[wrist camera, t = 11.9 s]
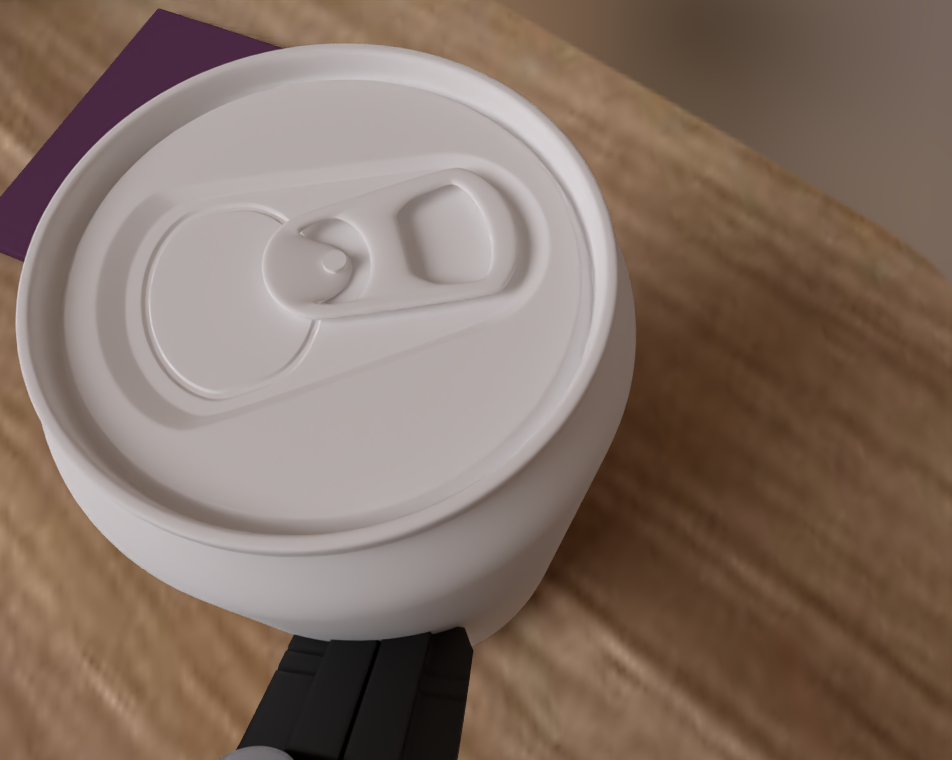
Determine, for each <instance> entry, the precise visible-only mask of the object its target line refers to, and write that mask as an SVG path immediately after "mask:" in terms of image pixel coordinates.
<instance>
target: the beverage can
mask: <svg viewBox="0 0 952 760" xmlns="http://www.w3.org/2000/svg"><path fill="white" fill-rule="evenodd" d="M16 338H17V348H18V355H19V361H20V365H21V370H22V374H23V378H24V381H25V384H26V388H27V391H28V393H29V396H30V399H31V401H32V404H33V406H34V408H35V410H36V413H37V415H38V416H39V418H40V420H41V422H42V426H43V430H44V433H45V436H46V440H47V443H48V446H49V448H50V451H51V454H52V456H53V458H54V461H55V463H56V465H57V468H58V470H59V472H60V474H61V476H62V478H63V480H64V482H65V484H66V485H67V487H68V489H69V490H70V492H71V494H72V495H73V497H74V498H75V500H76V501H77V503H78V504H79V506H80V507H81V508H82V510H83V511H84V512H85V514H86V515H87V516H88V517H89V519H90V520H91V521H92V523H93V524H94V525H95V526H96V527H97V528H98V529H99V530H100V532H101V533H102V534H103V535H104V536H105V537H106V538H107V539H108V540H109V541H110V542H111V543H112V544H113V545H114V546H115V547H117V548H118V549H119V550H120V551H121V552H122V553H123V554H125V555H126V556H127V557H128V558H129V559H131V560H132V561H133V562H135V563H136V564H137V565H138V566H140V567H141V568H143V569H144V570H146V571H147V572H149V573H150V574H151V575H153V576H155V577H156V578H158V579H160V580H161V581H163V582H165V583H167V584H168V585H170V586H172V587H174V588H176V589H178V590H180V591H182V592H184V593H187V594H189V595H191V596H193V597H195V598H198V599H200V600H203V601H205V602H208V603H211V604H213V605H216V606H218V607H221V608H224V609H226V610H229V611H232V612H234V613H237V614H240V615H242V616H245V617H248V618H250V619H253V620H256V621H258V622H261V623H264V624H266V625H269V626H272V627H274V628H277V629H280V630H282V631H285V632H288V633H290V634H293V635H294V634H295V635H299V636H303V637H307V638H312V639H317V640H324V641H330V640H331V639H333V640H360V641H362V640H379V641H380V642H382V639H391V638H399V637H405V636H411V635H416V634H421V633H425V632H429V631H431V633H432V634H436V633H439V632H443V631H446V630H449V629H452V628H455V627H457V626H459V627H465V630H466V632H467V635H468V638H469V641H470V643H471V646H472V647H473V646H475V645H477V644H479V643H480V642H482V641H484V640H485V639H487V638H489V637H490V636H492V635H493V634H494V633H496V632H497V631H498V630H500V629H501V628H502V627H503V626H505V625H506V624H507V623H508V622H509V621H510V620H511V619H512V618H513V617H514V616H515V615H516V614H517V613H518V612H519V611H520V610H521V609H522V608H523V606H524V605H525V604H526V603H527V601H528V600H529V599H530V597H531V596H532V595H533V593H534V592H535V590H536V589H537V587H538V585H539V584H540V582H541V580H542V578H543V577H544V575H545V573H546V571H547V569H548V567H549V565H550V563H551V561H552V559H553V557H554V555H555V553H556V551H557V549H558V547H559V546H560V544H561V542H562V540H563V538H564V536H565V534H566V532H567V530H568V528H569V526H570V524H571V522H572V520H573V518H574V516H575V514H576V512H577V510H578V508H579V506H580V504H581V503H582V501H583V499H584V497H585V495H586V493H587V491H588V489H589V487H590V485H591V483H592V481H593V479H594V477H595V475H596V473H597V471H598V469H599V467H600V465H601V463H602V461H603V459H604V458H605V456H606V454H607V451H608V449H609V447H610V445H611V443H612V441H613V439H614V436H615V434H616V432H617V429H618V427H619V424H620V422H621V419H622V416H623V413H624V410H625V407H626V403H627V400H628V396H629V392H630V387H631V383H632V377H633V371H634V362H635V351H636V318H635V307H634V299H633V293H632V287H631V283H630V278H629V274H628V271H627V267H626V264H625V260H624V257H623V254H622V251H621V249H620V246H619V244H618V241H617V239H616V237H615V233H614V228H613V224H612V220H611V217H610V213H609V210H608V207H607V204H606V201H605V199H604V196H603V194H602V192H601V189H600V187H599V185H598V183H597V181H596V179H595V177H594V175H593V173H592V171H591V170H590V168H589V166H588V165H587V163H586V161H585V160H584V158H583V157H582V155H581V154H580V152H579V151H578V150H577V148H576V147H575V146H574V144H573V143H572V142H571V141H570V139H569V138H568V137H567V136H566V135H565V134H564V132H563V131H562V130H561V129H560V128H559V127H558V126H557V125H556V124H555V123H554V122H553V121H552V120H551V119H550V118H549V117H548V116H547V115H546V114H544V113H543V112H542V111H541V110H540V109H539V108H537V107H536V106H535V105H534V104H532V103H531V102H530V101H529V100H527V99H526V98H524V97H523V96H522V95H520V94H519V93H517V92H516V91H514V90H513V89H511V88H509V87H508V86H506V85H504V84H503V83H501V82H499V81H497V80H495V79H494V78H492V77H490V76H488V75H486V74H484V73H482V72H479V71H477V70H475V69H473V68H470V67H468V66H465V65H463V64H460V63H457V62H455V61H452V60H449V59H446V58H442V57H439V56H436V55H432V54H428V53H424V52H420V51H415V50H410V49H405V48H399V47H392V46H384V45H373V44H353V43H336V44H317V45H307V46H298V47H291V48H285V49H279V50H274V51H269V52H265V53H261V54H257V55H252V56H249V57H245V58H242V59H238V60H235V61H232V62H229V63H226V64H223V65H221V66H218V67H215V68H213V69H210V70H208V71H205V72H203V73H200V74H198V75H196V76H194V77H191V78H189V79H187V80H185V81H183V82H181V83H179V84H177V85H175V86H174V87H172V88H170V89H168V90H166V91H165V92H163V93H161V94H159V95H158V96H156V97H154V98H153V99H151V100H150V101H148V102H147V103H145V104H144V105H142V106H141V107H139V108H138V109H136V110H135V111H134V112H132V113H131V114H130V115H128V116H127V117H126V118H124V119H123V120H122V121H121V122H119V123H118V124H117V125H116V126H114V127H113V128H112V129H111V130H110V131H109V132H107V133H106V134H105V135H104V136H103V137H102V138H101V139H100V140H99V141H98V142H97V143H96V144H95V145H94V146H93V147H92V148H91V149H90V150H89V151H88V152H87V153H86V154H85V155H84V156H83V157H82V159H81V160H80V161H79V162H78V163H77V164H76V166H75V167H74V168H73V169H72V170H71V172H70V173H69V174H68V176H67V177H66V178H65V180H64V181H63V183H62V184H61V185H60V187H59V188H58V190H57V191H56V193H55V194H54V196H53V198H52V199H51V201H50V203H49V204H48V206H47V208H46V210H45V211H44V213H43V215H42V217H41V219H40V221H39V223H38V225H37V228H36V230H35V232H34V235H33V237H32V240H31V242H30V245H29V248H28V251H27V254H26V257H25V260H24V264H23V268H22V272H21V277H20V282H19V288H18V295H17V305H16Z"/></svg>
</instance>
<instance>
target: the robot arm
mask: <svg viewBox="0 0 952 760" xmlns="http://www.w3.org/2000/svg"><path fill="white" fill-rule="evenodd" d="M472 657H473V649H472V646H471V643H470V641H469V638H468V635H467V632H466V630H465V627H459V626H457V627H455V628H452V629H449V630H446V631H443V632H439V633H436V634H432V633H431V631H429V632H425V633H421V634H416V635H411V636H405V637H399V638H391V639H382V642H380V641H379V640H362V641H360V640H333V639H331V640H330V641H324V640H317V639H312V638H307V637H303V636H299V635H295V634H294V636H293V638H292V640H291V642H290V644H289V646H288V650H287V651H286V652H285V654H284V656H283V658H282V660H281V662H280V664H279V667H278V670H276V672H275V674H274V676H273V678H272V680H271V682H270V684H269V686H268V688H267V690H266V692H265V694H264V696H263V698H262V700H261V702H260V704H259V706H258V708H257V710H256V712H255V714H254V716H253V718H252V720H251V722H250V724H249V726H248V728H247V730H246V732H245V734H244V736H243V738H242V740H241V742H240V744H239V745H238V747H237V749H236V750H235V751H233V752H230V753H228V754H226V755H225V756H223V757H221V758H220V759H219V760H458V754H459V747H460V741H461V734H462V728H463V721H464V715H465V707H466V700H467V693H468V686H469V679H470V671H471V664H472Z"/></svg>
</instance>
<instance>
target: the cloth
mask: <svg viewBox="0 0 952 760" xmlns="http://www.w3.org/2000/svg"><path fill="white" fill-rule="evenodd" d="M279 49H283V48H280V47H277V46H274V45H271V44H268V43H265V42H262V41H258V40H255V39H252V38H249V37H246V36H243V35H240V34H237V33H234V32H231V31H227V30H224V29H221V28H218V27H215V26H212V25H209V24H206V23H203V22H200V21H197V20H193V19H190V18H187V17H184V16H181V15H178V14H175V13H172V12H169V11H166V10H162V9H157V10H156V12H155V13H154V14H153V15H152V16H151V18H150V19H149V20H148V21H147V22H146V24H145V25H144V26H143V27H142V28H141V30H140V31H139V32H138V33H137V34H136V36H135V37H134V38H133V39H132V40H131V41H130V43H129V44H128V45H127V46H126V47H125V49H124V50H123V51H122V52H121V53H120V55H119V56H118V57H117V58H116V59H115V61H114V62H113V63H112V64H111V65H110V67H109V68H108V69H107V70H106V71H105V73H104V74H103V75H102V76H101V77H100V79H99V80H98V81H97V82H96V83H95V84H94V86H93V87H92V88H91V89H90V90H89V92H88V93H87V94H86V95H85V96H84V98H83V99H82V100H81V101H80V102H79V104H78V105H77V106H76V107H75V108H74V110H73V111H72V112H71V113H70V114H69V116H68V117H67V118H66V119H65V120H64V122H63V123H62V124H61V125H60V126H59V127H58V129H57V130H56V131H55V132H54V133H53V135H52V136H51V137H50V138H49V139H48V141H47V142H46V143H45V144H44V145H43V147H42V148H41V149H40V150H39V151H38V153H37V154H36V155H35V156H34V157H33V159H32V160H31V161H30V162H29V163H28V165H27V166H26V167H25V168H24V169H23V170H22V172H21V173H20V174H19V175H18V176H17V178H16V179H15V180H14V181H13V182H12V184H11V185H10V186H9V187H8V188H7V190H6V191H5V192H4V193H3V194H2V196H1V197H0V252H1V253H3V254H6V255H8V256H11V257H13V258H16V259H18V260H21V261H23V262H24V260H25V257H26V254H27V251H28V248H29V245H30V242H31V240H32V237H33V235H34V232H35V230H36V228H37V225H38V223H39V221H40V219H41V217H42V215H43V213H44V211H45V210H46V208H47V206H48V204H49V203H50V201H51V199H52V198H53V196H54V194H55V193H56V191H57V190H58V188H59V187H60V185H61V184H62V183H63V181H64V180H65V178H66V177H67V176H68V174H69V173H70V172H71V170H72V169H73V168H74V167H75V166H76V164H77V163H78V162H79V161H80V160H81V159H82V157H83V156H84V155H85V154H86V153H87V152H88V151H89V150H90V149H91V148H92V147H93V146H94V145H95V144H96V143H97V142H98V141H99V140H100V139H101V138H102V137H103V136H104V135H105V134H106V133H107V132H109V131H110V130H111V129H112V128H113V127H114V126H116V125H117V124H118V123H119V122H121V121H122V120H123V119H124V118H126V117H127V116H128V115H130V114H131V113H132V112H134V111H135V110H136V109H138V108H139V107H141V106H142V105H144V104H145V103H147V102H148V101H150V100H151V99H153V98H154V97H156V96H158V95H159V94H161V93H163V92H165V91H166V90H168V89H170V88H172V87H174V86H175V85H177V84H179V83H181V82H183V81H185V80H187V79H189V78H191V77H194V76H196V75H198V74H200V73H203V72H205V71H208V70H210V69H213V68H215V67H218V66H221V65H223V64H226V63H229V62H232V61H235V60H238V59H242V58H245V57H249V56H252V55H257V54H261V53H265V52H269V51H274V50H279Z"/></svg>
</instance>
